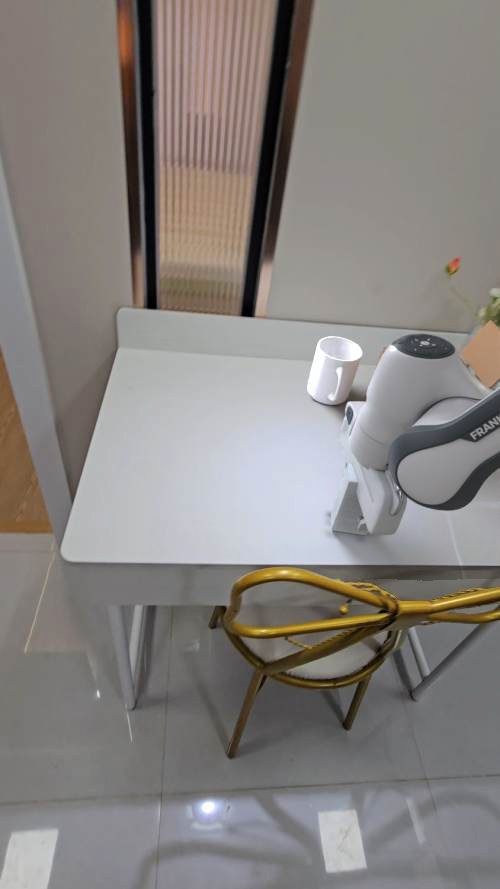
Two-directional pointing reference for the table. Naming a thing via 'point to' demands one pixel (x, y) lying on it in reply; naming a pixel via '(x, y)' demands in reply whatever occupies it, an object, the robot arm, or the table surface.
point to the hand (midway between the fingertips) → (354, 503)
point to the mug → (333, 370)
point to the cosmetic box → (347, 505)
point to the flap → (485, 354)
